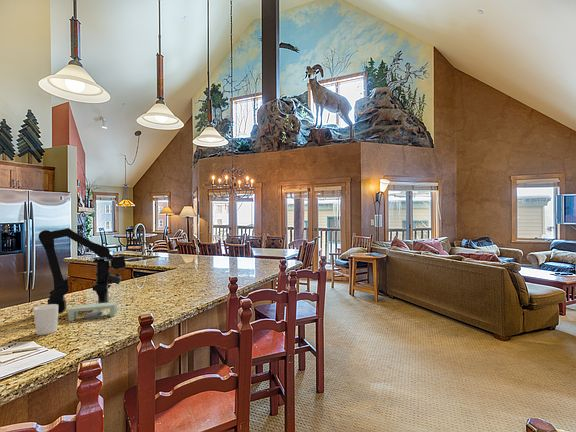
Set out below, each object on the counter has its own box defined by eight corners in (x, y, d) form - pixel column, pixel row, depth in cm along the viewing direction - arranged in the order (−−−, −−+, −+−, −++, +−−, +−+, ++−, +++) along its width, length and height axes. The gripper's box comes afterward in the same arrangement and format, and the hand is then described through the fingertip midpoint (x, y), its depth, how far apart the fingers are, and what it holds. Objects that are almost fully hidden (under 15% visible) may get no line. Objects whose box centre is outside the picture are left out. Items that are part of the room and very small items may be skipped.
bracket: (68, 320, 144) (68, 309, 144) (72, 316, 149) (72, 305, 149) (114, 316, 149) (114, 305, 149) (116, 312, 155) (116, 301, 155)
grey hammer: (90, 314, 152) (90, 301, 152) (100, 303, 172) (99, 291, 172) (100, 313, 153) (100, 300, 153) (108, 302, 173) (108, 290, 173)
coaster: (84, 320, 146) (84, 316, 146) (87, 316, 151) (87, 312, 151) (99, 318, 147) (99, 315, 147) (102, 315, 153) (102, 311, 153)
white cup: (53, 327, 135) (52, 303, 135) (62, 330, 131) (62, 305, 131) (30, 333, 129) (29, 308, 129) (39, 337, 125) (39, 310, 125)
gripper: (117, 272, 164) (118, 303, 164) (122, 266, 182) (123, 295, 182) (92, 274, 160) (92, 306, 160) (99, 268, 178) (100, 297, 178)
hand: (103, 300), depth 170 cm, fingers closed on grey hammer, 4 cm apart
